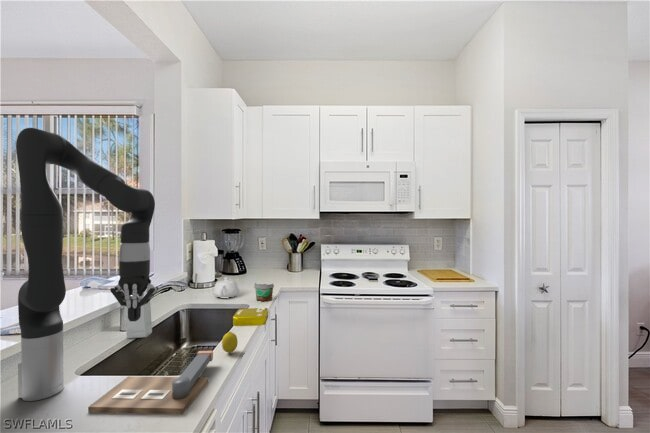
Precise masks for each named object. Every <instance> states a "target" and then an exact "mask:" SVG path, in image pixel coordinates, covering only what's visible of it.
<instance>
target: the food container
mask: <svg viewBox="0 0 650 433" xmlns="http://www.w3.org/2000/svg"><path fill="white" fill-rule="evenodd" d="M274 287H275V285H274V283H271V284H267V283H263V284H258V283H257V282H255V283H254V286H253V288H254V289H255V300H256V301H257V302H258V301H261V302H260V303H268V302H271V301H273V291H274Z"/></svg>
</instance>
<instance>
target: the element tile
mask: <svg viewBox="0 0 650 433" xmlns="http://www.w3.org/2000/svg"><path fill="white" fill-rule="evenodd" d="M268 319H269V309H268V308H267V307H258V308H257V307H255V308H253V307H252V308H239V309H237V311H236V312H235V314H234V315H233V316H232V325H233V326H234V327H248V326H251V327H253V326H256V327H257V326H265V325H266V324H267V322H268Z"/></svg>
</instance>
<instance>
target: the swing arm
mask: <svg viewBox="0 0 650 433" xmlns="http://www.w3.org/2000/svg"><path fill="white" fill-rule="evenodd" d="M213 359H214V351H213V350H199V351H197V353H196V356H195V357H194V359H192V361H191V362H190V363H189V364H188V365H187V367H186V368H185V370H183V372H182V373H181V374H180V375H179V378H177V379H175V380H173V381H172V397H173V398H175V399H180V398H184V397H186V396H188V395H189V394H190V389H191V388H192V386H193V385H194V384H195V382H196V381H197V379H198V378H199V377H200V376H201V375H202V373H203V372H204V370H205V369H206V368H207V366H208V365H209V364H210V362H212V361H213Z"/></svg>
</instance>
